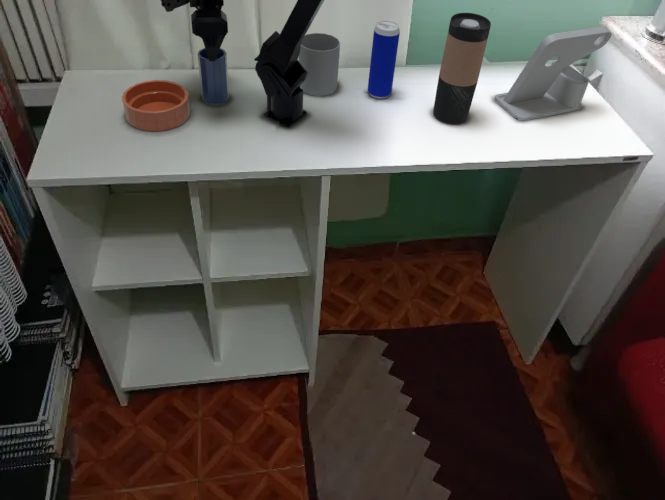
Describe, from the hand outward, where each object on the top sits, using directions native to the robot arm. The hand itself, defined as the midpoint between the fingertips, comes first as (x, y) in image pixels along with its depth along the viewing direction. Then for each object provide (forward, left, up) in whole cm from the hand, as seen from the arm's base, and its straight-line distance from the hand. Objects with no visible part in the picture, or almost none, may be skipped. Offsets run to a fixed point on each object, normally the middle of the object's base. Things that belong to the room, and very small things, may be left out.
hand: (210, 49), depth 119 cm
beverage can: (-25, -24, -11) cm, 36 cm away
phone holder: (-54, -43, -11) cm, 70 cm away
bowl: (+4, +12, -11) cm, 16 cm away
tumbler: (0, 0, -11) cm, 11 cm away
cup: (-13, -18, -11) cm, 25 cm away
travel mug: (-41, -26, -11) cm, 50 cm away
